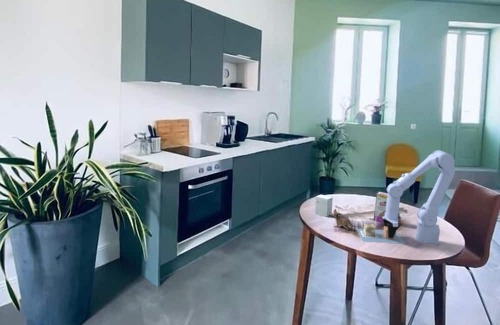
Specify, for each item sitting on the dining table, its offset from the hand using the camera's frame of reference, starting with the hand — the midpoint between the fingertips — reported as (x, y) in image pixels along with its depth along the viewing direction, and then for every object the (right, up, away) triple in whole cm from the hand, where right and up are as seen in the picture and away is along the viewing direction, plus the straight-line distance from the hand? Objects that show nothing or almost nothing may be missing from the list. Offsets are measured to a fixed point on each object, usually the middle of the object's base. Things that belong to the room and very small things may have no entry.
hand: (389, 235), depth 175 cm
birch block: (-9, 0, +3) cm, 9 cm away
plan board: (-4, -1, +2) cm, 4 cm away
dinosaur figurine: (-20, +1, +11) cm, 23 cm away
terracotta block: (0, -1, 0) cm, 1 cm away
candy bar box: (+5, +2, +21) cm, 21 cm away
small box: (-26, +5, +32) cm, 41 cm away
